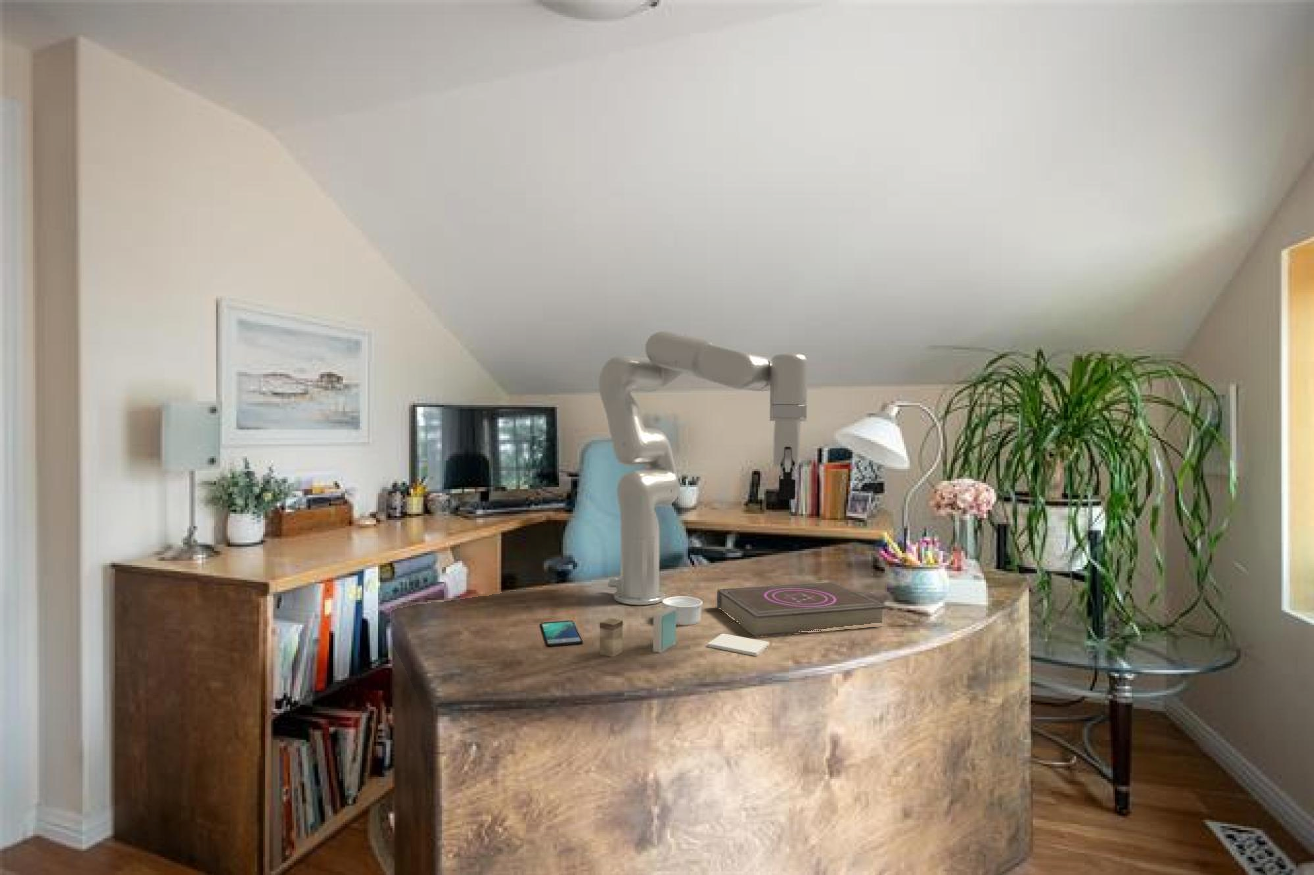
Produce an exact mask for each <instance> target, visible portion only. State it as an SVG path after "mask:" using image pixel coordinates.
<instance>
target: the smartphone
mask: <svg viewBox="0 0 1314 875" xmlns="http://www.w3.org/2000/svg"><path fill="white" fill-rule="evenodd" d="M540 629H541V633H542V636H543V640H544V642H545V646H546V647H547V648H556V647H557V648H559V647H560V648H561V647H569V646H572V647H573V646H582V645H583V644H584V641H583V639H582V636H581V635H580V633H579V631H578V628H577V626H576V625H575V622H574V621H573V620H560V621H558V620H555V621H545V622H541V623H540Z"/></svg>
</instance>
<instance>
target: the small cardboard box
mask: <svg viewBox="0 0 1314 875" xmlns="http://www.w3.org/2000/svg"><path fill="white" fill-rule="evenodd" d="M623 626H624V621H623V619H617V618H613V617H612V618H611V617H608V618H605V619H603V620H602V621H600V622H599V655H602V656H607V657H612V658H614V657H616V656H618V655H619V654H621V653H623Z"/></svg>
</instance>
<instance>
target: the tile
mask: <svg viewBox="0 0 1314 875" xmlns="http://www.w3.org/2000/svg"><path fill="white" fill-rule="evenodd" d="M676 626H677V625H676V608H674V607H667V608H665V609H662V610H659V611H657V612H655V613H654V614H653V638H652V639H653V642H652V643H653V644H652V646H653V648H652V652H655V653H663V652H664V651H667V650H668V649H670V647H673V646H674V645H675V644H676V642H677V638H676V637H677V635H676V634H677V631H676V630H677V627H676Z"/></svg>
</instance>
